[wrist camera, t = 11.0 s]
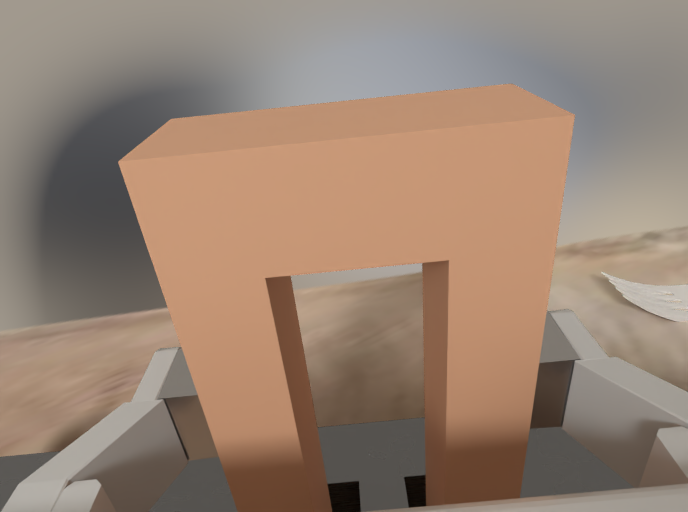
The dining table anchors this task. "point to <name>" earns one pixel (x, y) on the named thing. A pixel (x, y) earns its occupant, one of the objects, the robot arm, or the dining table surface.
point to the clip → (357, 253)
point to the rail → (368, 470)
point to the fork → (655, 297)
